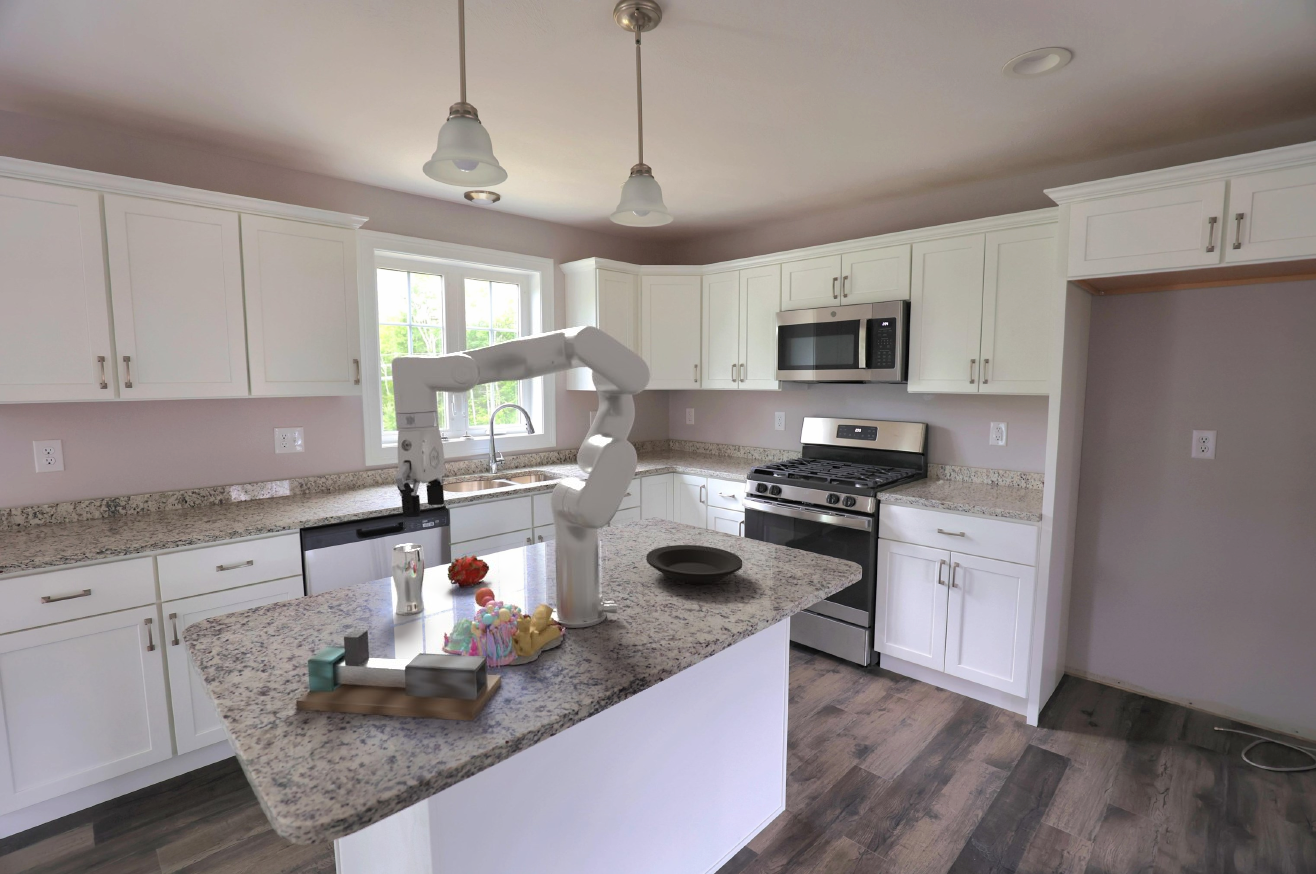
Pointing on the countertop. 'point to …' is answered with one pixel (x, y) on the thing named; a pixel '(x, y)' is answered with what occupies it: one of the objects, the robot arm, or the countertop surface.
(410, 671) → the tube rig
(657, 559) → the plate
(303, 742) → the countertop surface
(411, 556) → the beer glass
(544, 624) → the candy landscape model
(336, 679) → the inner tube
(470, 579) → the dragon fruit
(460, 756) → the countertop surface
